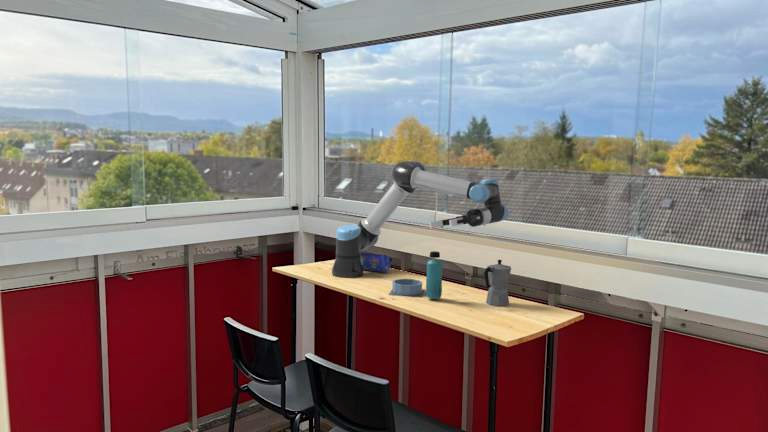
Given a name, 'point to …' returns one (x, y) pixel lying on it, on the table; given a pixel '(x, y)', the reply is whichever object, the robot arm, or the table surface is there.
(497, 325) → the table surface
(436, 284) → the beverage bottle
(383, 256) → the pencil case
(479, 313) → the table surface
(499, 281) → the coffeepot
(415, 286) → the bowl
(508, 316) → the table surface
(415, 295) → the mat
